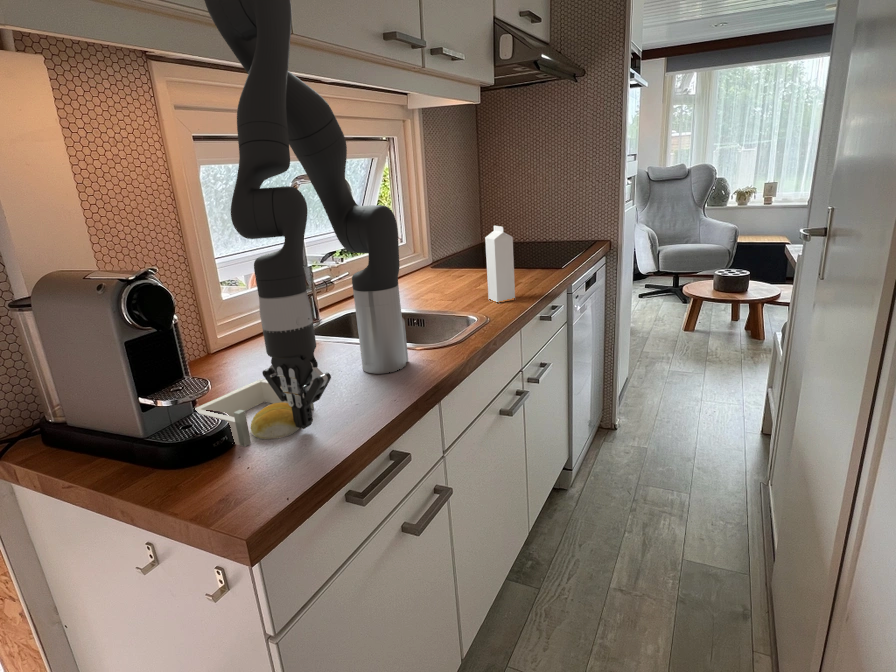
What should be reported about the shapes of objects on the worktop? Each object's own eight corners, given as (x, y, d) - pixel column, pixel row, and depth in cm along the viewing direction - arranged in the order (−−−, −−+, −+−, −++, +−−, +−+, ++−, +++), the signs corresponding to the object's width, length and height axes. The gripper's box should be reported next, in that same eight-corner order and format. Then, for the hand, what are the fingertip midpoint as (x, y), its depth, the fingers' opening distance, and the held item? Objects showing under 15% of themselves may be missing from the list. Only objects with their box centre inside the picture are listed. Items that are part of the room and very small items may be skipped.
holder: (264, 398, 107) (259, 370, 105) (314, 408, 100) (309, 379, 99) (193, 432, 94) (186, 401, 93) (245, 446, 88) (238, 413, 86)
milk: (505, 297, 172) (503, 224, 166) (515, 301, 167) (512, 225, 161) (488, 300, 170) (484, 226, 164) (497, 304, 165) (493, 227, 158)
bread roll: (303, 414, 99) (300, 393, 98) (302, 436, 91) (298, 413, 89) (254, 421, 97) (250, 400, 96) (248, 444, 89) (244, 421, 88)
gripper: (337, 318, 86) (351, 423, 91) (274, 314, 92) (290, 411, 97) (302, 332, 80) (319, 443, 84) (238, 326, 86) (257, 429, 91)
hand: (304, 426), depth 91 cm, fingers closed
